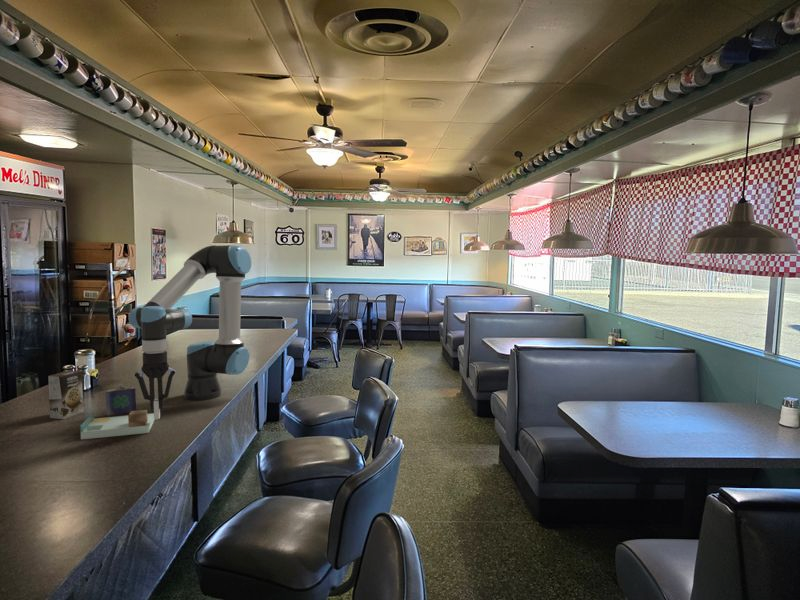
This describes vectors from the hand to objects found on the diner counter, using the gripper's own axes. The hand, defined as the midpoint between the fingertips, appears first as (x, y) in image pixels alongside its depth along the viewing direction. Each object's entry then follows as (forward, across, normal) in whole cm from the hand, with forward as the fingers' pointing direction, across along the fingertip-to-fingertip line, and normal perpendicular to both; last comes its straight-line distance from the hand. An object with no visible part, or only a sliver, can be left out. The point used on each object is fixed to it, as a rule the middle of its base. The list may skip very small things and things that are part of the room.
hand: (157, 418), depth 172 cm
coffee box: (+4, +34, -27) cm, 44 cm away
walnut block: (+1, +6, 0) cm, 6 cm away
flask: (+4, +15, -23) cm, 28 cm away
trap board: (+4, +12, -4) cm, 14 cm away
